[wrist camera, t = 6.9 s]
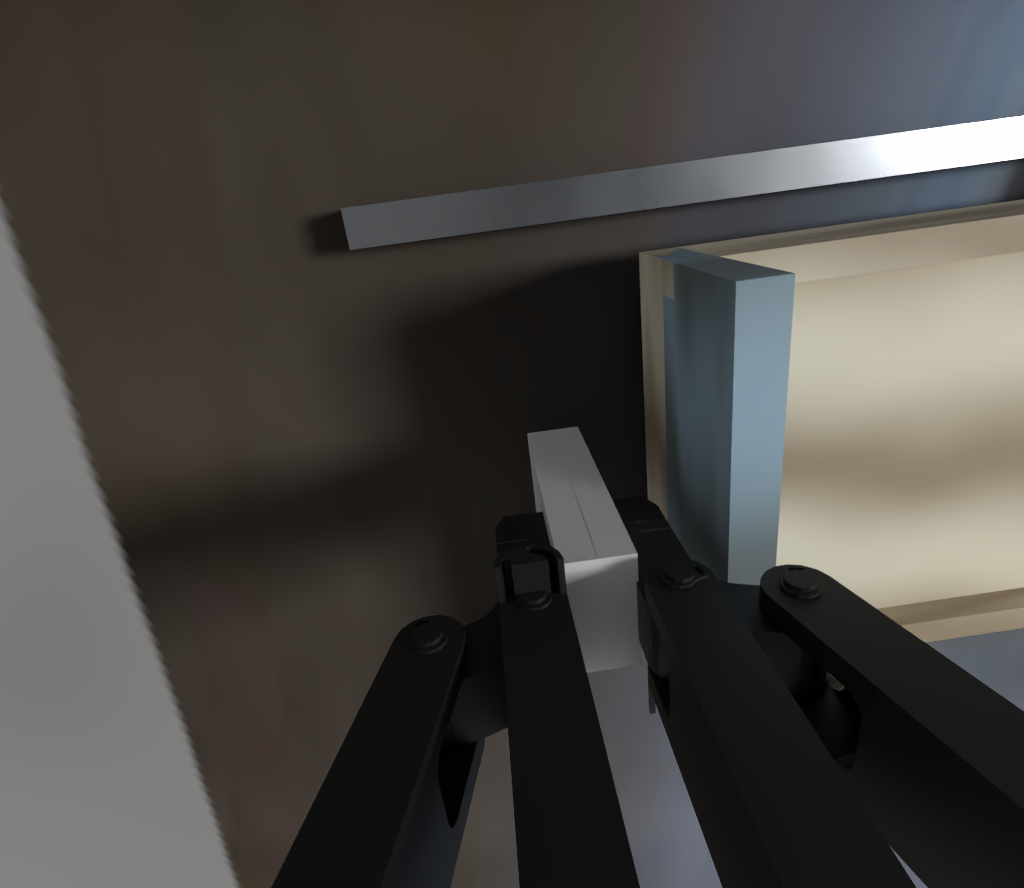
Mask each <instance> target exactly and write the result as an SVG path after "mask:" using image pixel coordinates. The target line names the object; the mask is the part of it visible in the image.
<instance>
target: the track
mask: <svg viewBox="0 0 1024 888" xmlns="http://www.w3.org/2000/svg"><path fill="white" fill-rule="evenodd" d="M1020 158H1024V116H1019V117H1011V118H1004V119H996V120H989V121H982V122H974V123H967V124H960V125H952V126H945V127H937V128H930V129H923V130H915V131H908V132H901V133H893V134H886V135H879V136H871V137H864V138H856V139H849V140H842V141H834V142H827V143H820V144H812V145H805V146H797V147H790V148H783V149H775V150H768V151H761V152H753V153H746V154H739V155H731V156H724V157H716V158H709V159H702V160H694V161H687V162H680V163H672V164H665V165H657V166H650V167H643V168H635V169H628V170H621V171H613V172H606V173H598V174H591V175H584V176H576V177H569V178H562V179H554V180H547V181H540V182H532V183H525V184H517V185H510V186H503V187H495V188H488V189H481V190H473V191H466V192H458V193H451V194H444V195H436V196H429V197H422V198H414V199H407V200H399V201H392V202H385V203H377V204H370V205H363V206H355V207H348V208H341V212H342V217H343V221H344V226H345V230H346V235H347V239H348V244H349V248H350V250H354V249H361V248H368V247H376V246H383V245H390V244H398V243H405V242H412V241H420V240H427V239H434V238H442V237H449V236H456V235H464V234H471V233H478V232H486V231H493V230H500V229H508V228H515V227H522V226H529V225H537V224H544V223H551V222H559V221H566V220H573V219H581V218H588V217H595V216H603V215H610V214H617V213H625V212H632V211H639V210H647V209H654V208H661V207H669V206H676V205H683V204H690V203H698V202H705V201H712V200H720V199H727V198H734V197H742V196H749V195H756V194H764V193H771V192H778V191H786V190H793V189H800V188H808V187H815V186H822V185H830V184H837V183H844V182H851V181H859V180H866V179H873V178H881V177H888V176H895V175H903V174H910V173H917V172H925V171H932V170H939V169H947V168H954V167H961V166H969V165H976V164H983V163H990V162H998V161H1005V160H1012V159H1020ZM641 655H642V656H645V655H644V652H643V649H642V647H641Z"/></svg>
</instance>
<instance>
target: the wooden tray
mask: <svg viewBox="0 0 1024 888" xmlns="http://www.w3.org/2000/svg"><path fill="white" fill-rule="evenodd" d="M639 270H640V297H641V325H642V353H643V380H644V408H645V436H646V463H647V491H648V500H650V501H651V502H653V503H655V504H656V505H658V507H659V508H660V510H661V512H662V513H663V515H664V517H665V520H667V521H668V523H669V525H670V526H671V529H672V530H673V531H674V533H675V535H676V536H677V538H678V539H679V541H680V543H681V544H682V546H683V548H684V549H685V551H686V553H687V554H688V556H689V557H690V559H691V560H694V561H697V562H699V563H701V564H703V565H705V566H707V567H708V568H709V569H710V570H711V571H712V572H713V573H714V575H715V576H716V578H717V580H720V581H723V582H729V583H736V584H748V585H760V579H761V577H762V575H763V574H764V572H765V571H767V570H769V569H771V568H772V567H774V566H780V565H786V564H790V565H803V566H807V567H810V568H814V569H817V570H819V571H821V572H823V573H825V574H827V575H829V576H830V577H832V578H833V579H835V580H836V581H838V582H839V583H840V584H842V585H843V586H845V587H846V588H848V589H849V590H851V591H852V592H853V593H855V594H856V595H858V596H859V597H861V598H862V599H863V600H865V601H866V602H868V603H869V604H871V605H872V606H873V607H875V608H876V609H878V610H879V611H881V612H882V613H883V614H885V615H886V616H888V617H889V618H891V619H892V620H893V621H895V622H896V623H898V624H899V625H901V626H902V627H903V628H905V629H906V630H908V631H909V632H911V633H912V634H913V635H915V636H916V637H918V638H919V639H921V640H922V641H923V642H931V641H938V640H945V639H951V638H958V637H965V636H972V635H979V634H985V633H992V632H999V631H1006V630H1012V629H1019V628H1024V199H1022V200H1015V201H1008V202H1000V203H993V204H986V205H979V206H971V207H964V208H957V209H950V210H942V211H935V212H928V213H920V214H913V215H906V216H899V217H891V218H884V219H877V220H870V221H862V222H855V223H848V224H841V225H833V226H826V227H819V228H811V229H804V230H797V231H790V232H782V233H775V234H768V235H761V236H753V237H746V238H739V239H731V240H724V241H717V242H710V243H702V244H695V245H688V246H681V247H673V248H666V249H659V250H652V251H644V252H639Z"/></svg>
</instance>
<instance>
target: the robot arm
mask: <svg viewBox="0 0 1024 888" xmlns="http://www.w3.org/2000/svg"><path fill="white" fill-rule="evenodd" d="M527 437H528V445H529V454H530V462H531V471H532V479H533V488H534V496H535V505H536V513H530V514H522V515H515V516H508V517H503V518H502V520H501V521H500V523H499V524H498V526H497V528H496V542H497V554H498V555H497V556H498V558H497V559H496V560H495V564H494V568H493V569H494V575H495V581H496V587H497V594H498V600H499V601H498V603H497V605H496V606H495V607H494V608H493V610H492V611H491V612H490V613H488V614H487V615H486V616H484V617H483V618H481V619H479V620H477V621H475V622H473V623H470V624H467V625H465V626H462V625H461V623H460V622H458V621H457V620H455V619H453V618H452V617H447V616H442V615H436V616H427V617H423V618H421V619H418V620H415V621H413V622H411V623H410V624H408V625H407V626H406V627H404V628H403V629H402V630H401V631H400V632H399V634H398V635H397V636H396V637H395V639H394V641H393V643H392V645H391V647H390V649H389V651H388V653H387V655H386V657H385V659H384V661H383V663H382V665H381V667H380V669H379V671H378V673H377V675H376V677H375V679H374V681H373V683H372V685H371V687H370V689H369V691H368V693H367V695H366V697H365V699H364V701H363V703H362V705H361V707H360V709H359V711H358V714H357V716H356V718H355V720H354V722H353V724H352V726H351V728H350V730H349V732H348V734H347V736H346V738H345V740H344V742H343V744H342V746H341V748H340V750H339V752H338V754H337V756H336V758H335V760H334V762H333V764H332V766H331V768H330V770H329V772H328V774H327V776H326V778H325V780H324V782H323V784H322V786H321V788H320V790H319V792H318V794H317V796H316V798H315V800H314V802H313V804H312V806H311V808H310V810H309V812H308V815H307V817H306V819H305V821H304V823H303V825H302V827H301V829H300V831H299V833H298V835H297V837H296V839H295V841H294V843H293V845H292V847H291V849H290V851H289V853H288V855H287V857H286V859H285V861H284V863H283V865H282V867H281V869H280V871H279V873H278V875H277V877H276V879H275V881H274V883H273V885H272V887H271V888H450V886H451V882H452V878H453V874H454V870H455V865H456V861H457V857H458V853H459V849H460V845H461V841H462V837H463V832H464V828H465V824H466V820H467V816H468V812H469V808H470V803H471V799H472V795H473V791H474V787H475V783H476V779H477V775H478V770H479V766H480V762H481V758H482V754H483V750H484V745H485V737H488V736H490V735H492V734H494V733H496V732H498V731H501V730H503V729H505V728H507V727H508V733H509V747H510V761H511V775H512V788H513V802H514V816H515V830H516V843H517V857H518V871H519V884H520V888H640V886H639V882H638V878H637V874H636V870H635V866H634V862H633V858H632V854H631V850H630V846H629V841H628V837H627V833H626V829H625V825H624V821H623V817H622V813H621V809H620V805H619V801H618V797H617V793H616V789H615V785H614V781H613V777H612V773H611V769H610V765H609V761H608V757H607V753H606V749H605V745H604V741H603V736H602V732H601V728H600V724H599V720H598V716H597V712H596V708H595V704H594V700H593V696H592V692H591V688H590V684H589V680H588V676H587V673H588V672H595V671H602V670H609V669H616V668H624V667H631V666H638V665H642V655H641V647H642V649H643V652H644V655H645V657H646V660H647V663H648V690H649V709H650V714H651V713H656V712H655V703H656V706H657V708H658V711H659V714H660V717H661V719H662V722H663V725H664V728H665V730H666V733H667V736H668V739H669V741H670V744H671V747H672V750H673V752H674V755H675V758H676V761H677V763H678V766H679V769H680V772H681V774H682V777H683V780H684V783H685V785H686V788H687V791H688V794H689V796H690V799H691V802H692V805H693V807H694V810H695V813H696V816H697V818H698V821H699V824H700V827H701V829H702V832H703V835H704V838H705V840H706V843H707V846H708V849H709V851H710V854H711V857H712V860H713V862H714V865H715V868H716V871H717V873H718V876H719V879H720V882H721V884H722V887H723V888H916V886H915V885H914V883H913V882H912V880H911V879H910V877H909V876H908V874H907V873H906V871H905V869H904V868H903V866H902V865H901V863H900V862H899V860H898V859H897V857H896V855H895V854H894V852H893V851H892V849H893V850H894V851H895V852H896V853H897V854H898V855H899V856H900V857H901V859H902V860H903V861H904V862H905V863H906V864H907V865H908V866H909V867H910V868H911V870H912V871H913V872H914V873H915V874H916V875H917V876H918V877H919V878H920V879H921V881H922V882H923V883H924V884H925V885H926V886H927V887H928V888H1024V711H1022V710H1021V709H1019V708H1018V707H1017V706H1015V705H1014V704H1012V703H1011V702H1009V701H1008V700H1007V699H1005V698H1004V697H1002V696H1001V695H999V694H998V693H996V692H995V691H994V690H992V689H991V688H989V687H988V686H986V685H985V684H984V683H982V682H981V681H979V680H978V679H976V678H975V677H974V676H972V675H971V674H969V673H968V672H966V671H965V670H964V669H962V668H961V667H959V666H958V665H956V664H955V663H954V662H952V661H951V660H949V659H948V658H946V657H945V656H944V655H942V654H941V653H939V652H938V651H936V650H935V649H934V648H932V647H931V646H929V645H928V644H926V643H925V642H923V641H922V640H921V639H919V638H918V637H916V636H915V635H913V634H912V633H911V632H909V631H908V630H906V629H905V628H903V627H902V626H901V625H899V624H898V623H896V622H895V621H893V620H892V619H891V618H889V617H888V616H886V615H885V614H883V613H882V612H881V611H879V610H878V609H876V608H875V607H873V606H872V605H871V604H869V603H868V602H866V601H865V600H863V599H862V598H861V597H859V596H858V595H856V594H855V593H853V592H852V591H851V590H849V589H848V588H846V587H845V586H843V585H842V584H840V583H839V582H838V581H836V580H835V579H833V578H832V577H830V576H829V575H827V574H825V573H823V572H821V571H819V570H817V569H814V568H810V567H807V566H803V565H790V564H786V565H780V566H774V567H772V568H771V569H769V570H767V571H765V572H764V574H763V575H762V577H761V579H760V585H748V584H736V583H729V582H723V581H720V580H717V578H716V576H715V575H714V573H713V572H712V571H711V570H710V569H709V568H708V567H707V566H705V565H703V564H701V563H699V562H697V561H694V560H691V559H690V557H689V556H688V554H687V553H686V551H685V549H684V548H683V546H682V544H681V543H680V541H679V539H678V538H677V536H676V535H675V533H674V531H673V530H672V529H671V526H670V525H669V523H668V521H667V520H665V517H664V515H663V513H662V512H661V510H660V508H659V507H658V505H656V504H655V503H653V502H651V501H650V500H648V499H647V498H645V497H635V498H628V499H621V500H614V501H613V500H612V498H611V496H610V494H609V492H608V490H607V488H606V486H605V483H604V481H603V479H602V477H601V475H600V473H599V471H598V469H597V466H596V464H595V462H594V460H593V458H592V456H591V454H590V452H589V449H588V447H587V445H586V443H585V441H584V439H583V437H582V435H581V432H580V430H579V428H578V426H577V427H570V428H563V429H555V430H548V431H540V432H533V433H527ZM831 675H832V676H833V677H834V678H833V677H832V676H831ZM838 681H839V682H840V683H839V682H838ZM888 844H889V845H890V846H891V848H892V849H891V848H890V846H889V845H888Z"/></svg>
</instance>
